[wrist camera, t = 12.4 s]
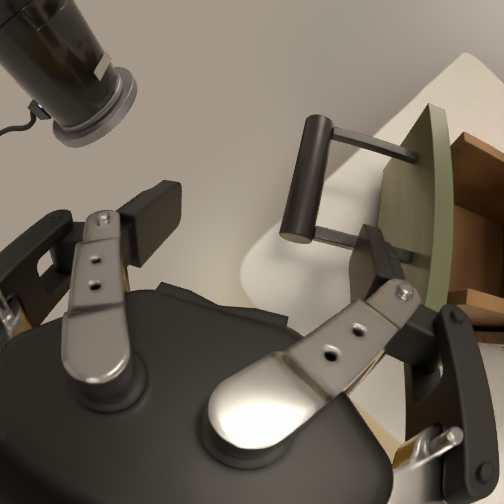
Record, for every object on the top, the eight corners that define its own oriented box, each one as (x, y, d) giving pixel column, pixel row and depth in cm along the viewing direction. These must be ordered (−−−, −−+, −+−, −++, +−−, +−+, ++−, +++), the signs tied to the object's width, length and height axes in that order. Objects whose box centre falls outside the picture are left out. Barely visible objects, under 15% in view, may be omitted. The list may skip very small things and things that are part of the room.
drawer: (268, 291, 19) (265, 276, 11) (303, 148, 22) (315, 67, 13) (490, 338, 17) (562, 339, 8) (498, 215, 19) (558, 181, 10)
